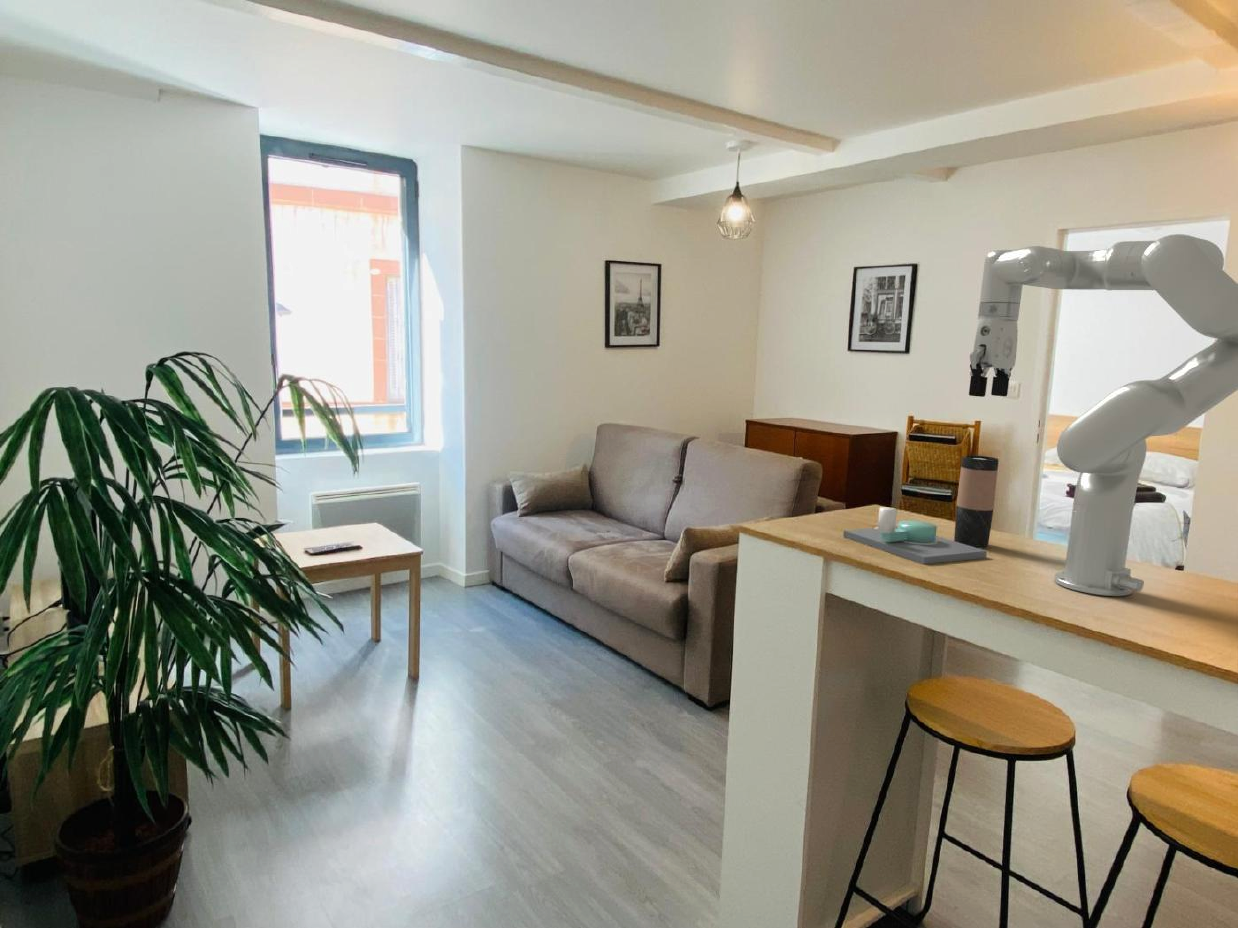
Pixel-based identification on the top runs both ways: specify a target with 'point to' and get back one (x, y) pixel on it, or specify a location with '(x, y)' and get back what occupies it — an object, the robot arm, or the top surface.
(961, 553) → the base plate
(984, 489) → the travel mug
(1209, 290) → the robot arm
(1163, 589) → the top surface
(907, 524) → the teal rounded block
